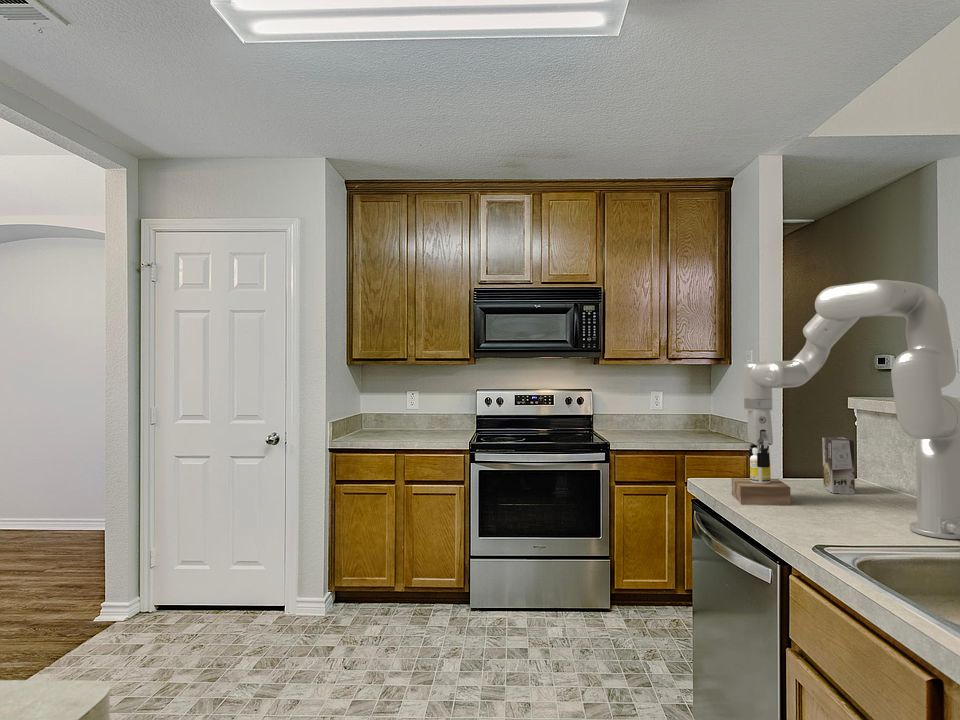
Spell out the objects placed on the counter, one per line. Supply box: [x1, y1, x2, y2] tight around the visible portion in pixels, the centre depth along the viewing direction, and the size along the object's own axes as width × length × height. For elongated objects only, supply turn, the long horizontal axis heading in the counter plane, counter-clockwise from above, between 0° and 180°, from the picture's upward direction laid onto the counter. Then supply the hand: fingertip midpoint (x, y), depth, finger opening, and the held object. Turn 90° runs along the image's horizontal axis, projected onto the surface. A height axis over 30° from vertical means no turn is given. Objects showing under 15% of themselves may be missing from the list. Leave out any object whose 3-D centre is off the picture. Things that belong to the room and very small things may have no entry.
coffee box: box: [821, 436, 856, 495], centre depth 199 cm, size 9×6×16 cm
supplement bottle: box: [749, 448, 772, 484], centre depth 189 cm, size 5×5×10 cm
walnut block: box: [731, 477, 792, 506], centre depth 189 cm, size 13×13×5 cm
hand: (759, 464), depth 189 cm, fingers open, 9 cm apart
